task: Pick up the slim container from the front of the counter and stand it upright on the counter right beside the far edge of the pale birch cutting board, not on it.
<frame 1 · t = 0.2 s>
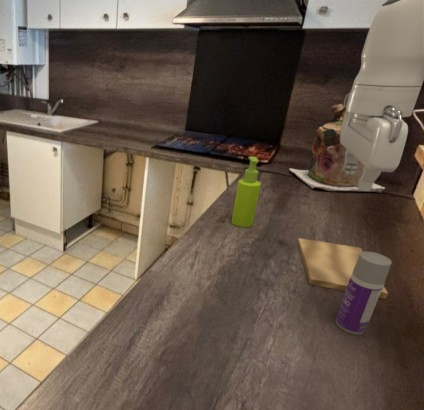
hand: (355, 181, 65), 26 cm above the table, tool pointing down, fingers open, 8 cm apart
soap dispenser: (241, 222, 108), on the table
cookie jar: (331, 182, 141), on the table
container: (349, 326, 68), on the table
cutting board: (336, 267, 86), on the table
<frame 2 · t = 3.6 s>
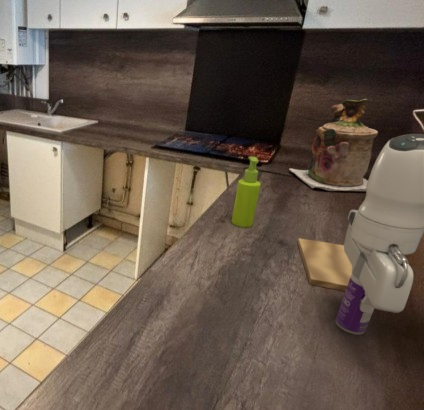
hand: (359, 299, 65), 6 cm above the table, tool pointing down, fingers closed on container, 4 cm apart
container: (349, 326, 68), on the table, touching gripper
everything else where it was.
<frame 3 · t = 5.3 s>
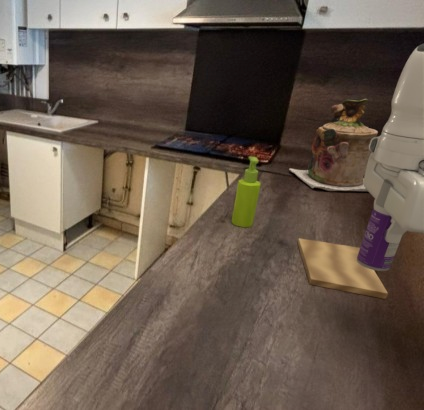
hand: (383, 232, 60), 20 cm above the table, tool pointing down, fingers closed on container, 4 cm apart
container: (372, 264, 63), point 13 cm above the table, touching gripper
everything else where it was.
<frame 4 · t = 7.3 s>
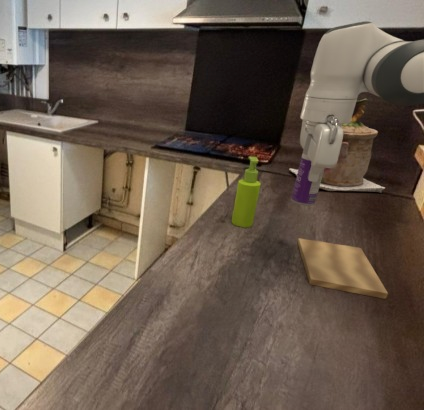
hand: (309, 176, 78), 23 cm above the table, tool pointing down, fingers closed on container, 4 cm apart
container: (302, 202, 81), point 16 cm above the table, touching gripper
everything else where it was.
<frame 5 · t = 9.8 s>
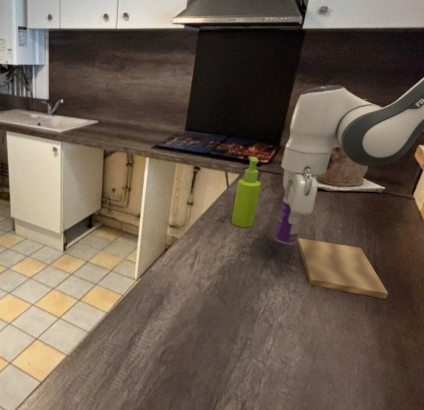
hand: (290, 217, 85), 11 cm above the table, tool pointing down, fingers closed on container, 4 cm apart
container: (284, 240, 88), point 5 cm above the table, touching gripper
everything else where it was.
when the fingers open (6 cm above the table, at t = 11.5 s): container stays where it is, on the table.
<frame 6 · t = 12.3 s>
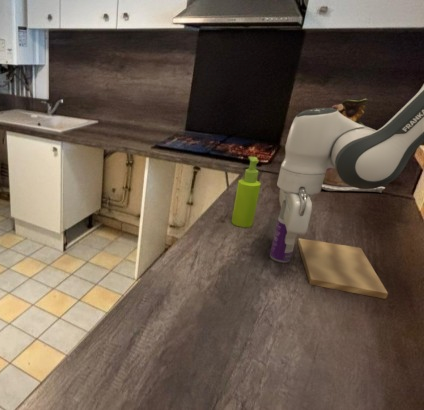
hand: (286, 234, 87), 7 cm above the table, tool pointing down, fingers open, 8 cm apart
container: (279, 258, 90), on the table
everything else where it was.
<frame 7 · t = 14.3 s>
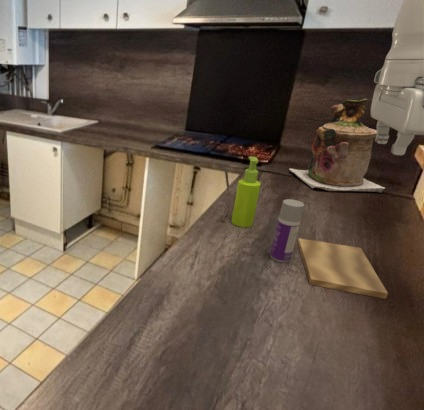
hand: (388, 148, 72), 30 cm above the table, tool pointing down, fingers open, 8 cm apart
nothing on the table moved.
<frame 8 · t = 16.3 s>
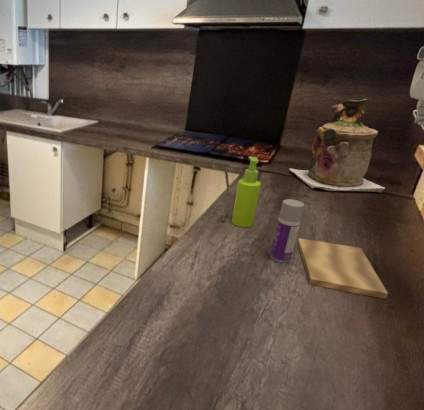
nothing on the table moved.
at the end: container inside the target area on the table beside the cutting board (0.3 cm from its centre), on the table; container tilted 0°; the gripper is holding nothing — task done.
